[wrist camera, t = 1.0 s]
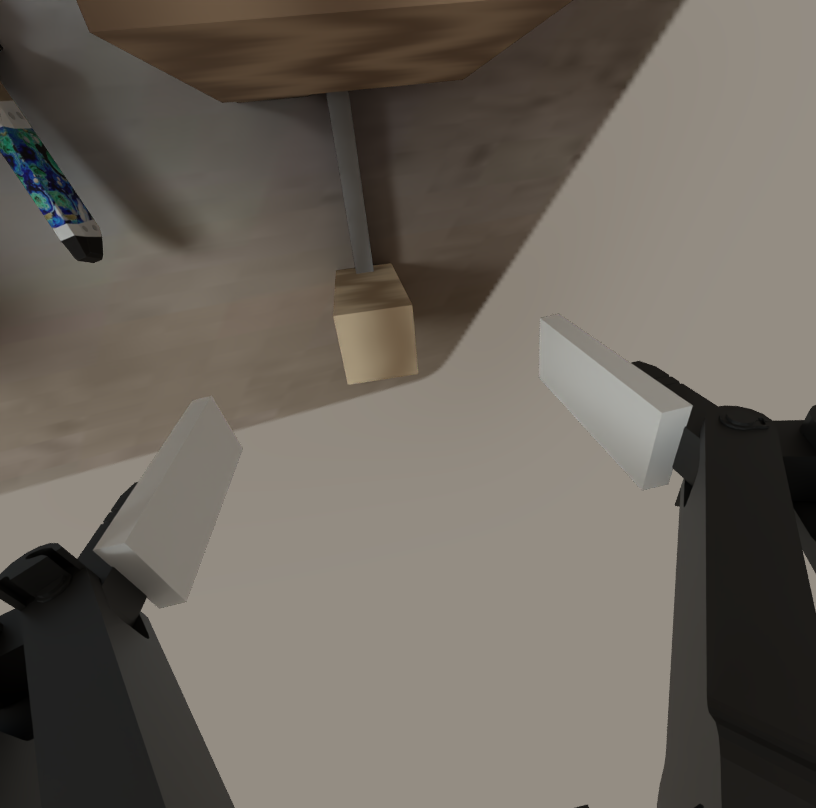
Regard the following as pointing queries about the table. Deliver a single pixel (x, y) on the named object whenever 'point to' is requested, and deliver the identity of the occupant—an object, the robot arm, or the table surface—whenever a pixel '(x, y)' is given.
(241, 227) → the table surface
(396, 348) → the blade tool
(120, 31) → the cabinet
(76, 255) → the knife
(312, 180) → the table surface
